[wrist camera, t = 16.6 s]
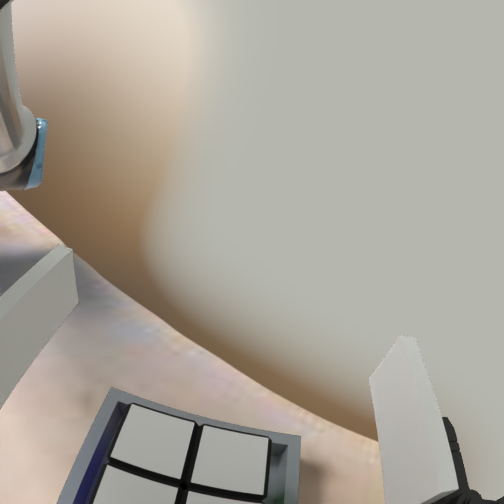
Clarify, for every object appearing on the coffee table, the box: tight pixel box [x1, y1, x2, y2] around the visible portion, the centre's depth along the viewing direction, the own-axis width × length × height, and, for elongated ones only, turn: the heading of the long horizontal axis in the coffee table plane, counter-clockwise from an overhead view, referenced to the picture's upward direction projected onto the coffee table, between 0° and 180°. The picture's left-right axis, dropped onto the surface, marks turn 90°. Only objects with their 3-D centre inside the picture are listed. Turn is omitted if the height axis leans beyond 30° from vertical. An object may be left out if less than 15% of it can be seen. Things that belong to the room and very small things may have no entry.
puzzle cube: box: [89, 402, 272, 504], centre depth 16 cm, size 10×10×10 cm
